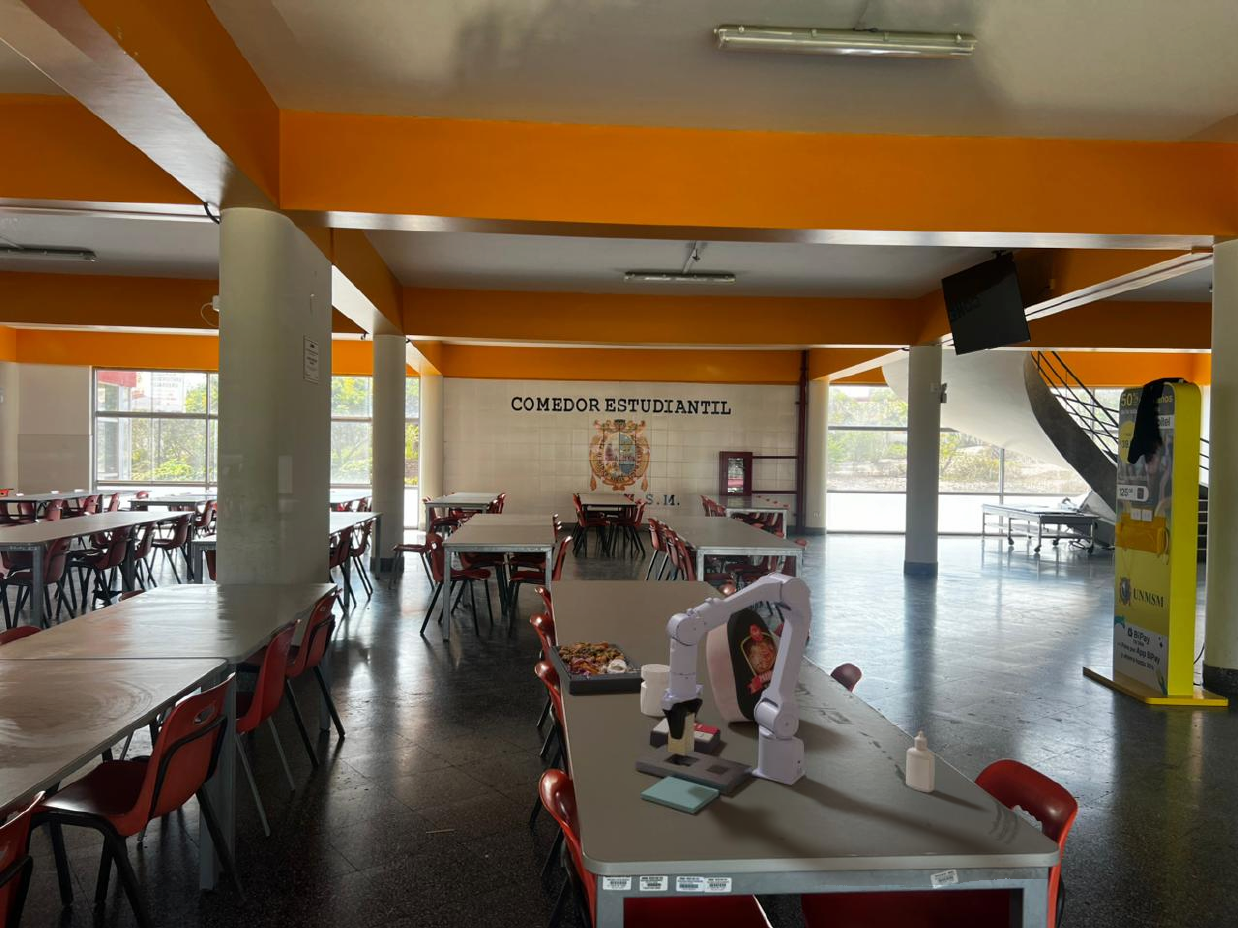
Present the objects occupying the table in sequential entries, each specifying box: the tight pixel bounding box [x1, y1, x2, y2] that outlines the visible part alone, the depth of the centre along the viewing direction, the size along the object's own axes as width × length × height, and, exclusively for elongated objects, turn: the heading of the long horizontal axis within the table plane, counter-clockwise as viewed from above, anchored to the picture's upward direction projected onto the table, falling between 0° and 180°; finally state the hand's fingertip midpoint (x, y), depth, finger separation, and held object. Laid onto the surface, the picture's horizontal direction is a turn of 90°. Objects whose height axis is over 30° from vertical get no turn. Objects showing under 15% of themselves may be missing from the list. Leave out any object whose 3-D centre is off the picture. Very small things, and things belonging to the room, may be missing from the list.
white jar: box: [640, 663, 670, 717], centre depth 216 cm, size 9×9×12 cm
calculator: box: [649, 717, 722, 755], centre depth 193 cm, size 11×4×15 cm
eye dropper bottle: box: [905, 730, 936, 793], centre depth 168 cm, size 4×6×12 cm
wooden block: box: [668, 711, 696, 756], centre depth 167 cm, size 4×4×8 cm
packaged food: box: [705, 606, 778, 723], centre depth 213 cm, size 22×20×30 cm
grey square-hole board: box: [635, 744, 753, 795], centre depth 174 cm, size 22×13×2 cm, turn 56°
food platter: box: [548, 640, 645, 695], centre depth 256 cm, size 45×25×10 cm, turn 13°
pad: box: [640, 776, 720, 815], centre depth 161 cm, size 12×11×1 cm
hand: (681, 735), depth 167 cm, fingers closed on wooden block, 4 cm apart
